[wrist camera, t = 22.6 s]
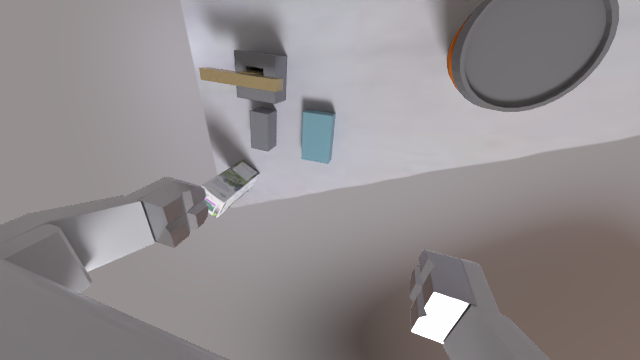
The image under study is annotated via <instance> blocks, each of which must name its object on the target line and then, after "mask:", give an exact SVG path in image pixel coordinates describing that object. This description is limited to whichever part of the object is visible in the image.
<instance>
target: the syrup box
mask: <svg viewBox="0 0 640 360" xmlns="http://www.w3.org/2000/svg"><path fill="white" fill-rule="evenodd" d="M259 174H260V173H258V172H257V171H256V170H255V169H253V168H252V167H250V166H249V165H248V164H247V163H245V162H244V161H240V162H238V163H237V164H235V165H234V166H232V167H230V168H229V169H227V170H226V171H224V172H222V173H221V174H219V175H218V176H216V177H214V178H213V179H211V180H210V181H208V182H206V183H205V184H203V185H202V188H204V189H205V193H206V197H205V199H204V201H205V203H206V204H207V205H208V212H209V213H210V214H211V215H213V216H214V217H215V218H217V217H218V216H219V215H220V214H222V213H223V212H224V211H225V210H226V209H227V208H229V207H230V206H231V205H232V204H233V203H234V202H236V201H237V200H238V199H239V198H240V197H241V196H242V195H244V194H245V193H246V192H247V191H248V190H249V189H251V188H252V186H253V184H254V182H255V181H256V179H257V177H258V176H259Z"/></svg>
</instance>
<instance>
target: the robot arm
mask: <svg viewBox="0 0 640 360" xmlns="http://www.w3.org/2000/svg"><path fill="white" fill-rule="evenodd" d="M205 197H206V193H205V189H204V188H202V187H201V186H198V185H194V184H191V183H188V182H185V181H181V180H177V179H174V178H170V177H164V178H162V179H160V180H158V181H156V182H154V183H152V184H150V185H148V186H146V187H144V188H142V189H140V190H138V191H136V192H133V193H131V194H129V195H127V196H117V197H111V198H106V199H101V200H96V201H91V202H86V203H80V204H76V205H70V206H65V207H60V208H55V209H50V210H45V211H40V212H34V213H29V214H26V215H23V216H21V217H19V218H17V219H14V220H11V221H9V222H7V223H4V224H2V225H0V360H229V359H227V358H225V357H222V356H220V355H218V354H216V353H213V352H211V351H209V350H207V349H204V348H202V347H200V346H198V345H195V344H193V343H191V342H188V341H186V340H184V339H182V338H180V337H177V336H175V335H173V334H171V333H168V332H166V331H163V330H161V329H159V328H157V327H155V326H153V325H150V324H148V323H146V322H144V321H141V320H139V319H137V318H134V317H132V316H130V315H128V314H126V313H123V312H121V311H118V310H116V309H114V308H112V307H109V306H107V305H105V304H103V303H101V302H98V301H96V300H94V299H92V298H89V297H87V296H85V295H83V294H80V292H82V291H83V290H84V289H86V288H87V287H89V286H90V285H91V282H92V280H91V278H90V276H89V274H88V273H87V272H88V271H90V270H93V269H95V268H97V267H100V266H102V265H104V264H106V263H109V262H111V261H114V260H116V259H118V258H121V257H123V256H125V255H128V254H130V253H132V252H135V251H137V250H139V249H142V248H144V247H147V246H149V245H151V244H154V243H155V242H158V243H161V244H164V245H167V246H170V247H173V248H175V247H176V246H178V245H179V244H180V243H181V242H182V241H183V240H185V239H186V238H187V237H188V236H189V234H190V231H191V230H194V229H197V228H199V227H200V226H201V225H202V224H203V223H204V222H205V220H206V218H207V217H208V205H207V204H206V203H205V201H204V199H205ZM419 264H420V265H418V266H416V267H414V269H413V271H412V274H411V278H410V283H409V296H410V298H411V299H412V301H413V302H414V303H413V305H412V307H411V309H410V315H411V329H412V332H415V333H418V334H420V335H423V336H425V337H428V338H431V339H433V340H436V341H439V342H441V343H443V344H442V345H443V347H444V349H445V351H446V352H447V354H448V356H449V358H450V359H451V360H550V359H549V358H548V357H547V356H546V355H545V354H544V353H543V352H542V351H541V350H540V349H539V348H538V347H537V346H536V345H535V344H534V343H533V342H532V341H531V340H530V339H529V338H528V337H527V336H526V335H525V334H524V333H523V332H522V331H521V330H520V329H519V328H518V327H517V326H516V325H515V324H514V323H513V322H512V321H511V320H510V319H509V318H508V317H507V316H504V315H501V314H500V312H499V309H498V307H497V305H496V302H495V300H494V297H493V295H492V293H491V290H490V288H489V286H488V283H487V281H486V279H485V276H484V274H483V272H482V269H481V267H480V265H478V263H476V262H471V261H468V260H464V259H460V258H455V257H451V256H448V255H444V254H440V253H437V252H433V251H429V250H426V249H424V250H423V251H422V252H421V254H420V256H419Z"/></svg>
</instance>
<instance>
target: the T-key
mask: <svg viewBox="0 0 640 360" xmlns="http://www.w3.org/2000/svg"><path fill="white" fill-rule="evenodd" d="M199 69H200V76H201V80H207V81H213V82H219V83H225V84H231V85H237V86H243V87H249V88H255V89H261V90H267V91H273V92H278V91H282V90H283V78H276V77H269V76H264V73H263V70H253V71H240V72H236V71H230V70H223V69H217V68H210V67H209V68H199Z"/></svg>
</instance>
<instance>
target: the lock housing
mask: <svg viewBox="0 0 640 360" xmlns="http://www.w3.org/2000/svg"><path fill="white" fill-rule="evenodd" d="M234 57H235V71H236V72H240V71H253V70H260V68H263V73H264V76H269V77H276V78H283V90H282V91H278V92H273V91H267V90H261V89H255V88H249V87H243V86H237V85H236V86H237V97H240V98H245V99H250V100H256V101H261V102H267V103H272V104H276V103H279V102H281V101H284V100H286V74H287V56H282V55H275V54H267V53H260V52H253V51H240V50H234ZM276 117H277V111H276V110H271V109H266V108H260V107H259V108H257V109H254V110H251V111H250V129H251V148H255V149H259V150H264V151H269V150H271V149H272V148H273V147H275V146H276Z"/></svg>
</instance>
